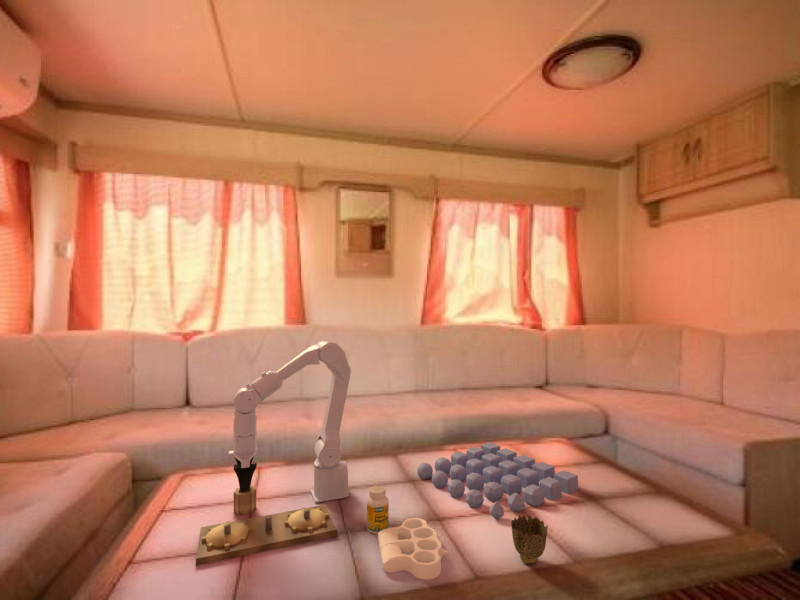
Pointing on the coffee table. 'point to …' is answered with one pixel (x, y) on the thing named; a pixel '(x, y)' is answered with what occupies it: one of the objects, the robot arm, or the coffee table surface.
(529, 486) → the blocks
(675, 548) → the coffee table surface
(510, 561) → the coffee table surface
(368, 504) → the supplement bottle
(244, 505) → the maple gear
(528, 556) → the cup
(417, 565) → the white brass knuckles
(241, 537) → the gear board
